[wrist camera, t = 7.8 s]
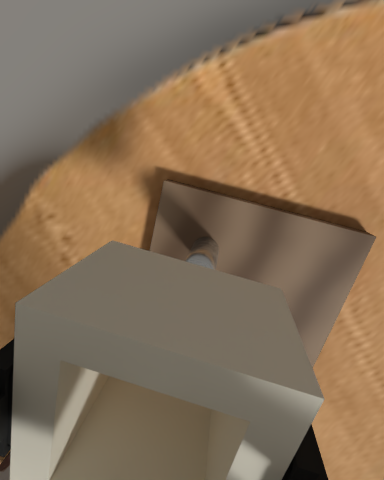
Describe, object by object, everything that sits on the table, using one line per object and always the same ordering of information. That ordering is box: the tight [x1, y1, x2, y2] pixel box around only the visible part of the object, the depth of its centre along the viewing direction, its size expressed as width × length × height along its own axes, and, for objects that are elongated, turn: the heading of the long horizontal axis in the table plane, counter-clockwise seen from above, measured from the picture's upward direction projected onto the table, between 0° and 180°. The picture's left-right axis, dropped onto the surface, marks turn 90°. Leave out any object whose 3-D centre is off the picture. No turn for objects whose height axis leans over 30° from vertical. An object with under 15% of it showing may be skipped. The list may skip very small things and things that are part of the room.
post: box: [185, 237, 219, 270], centre depth 21 cm, size 2×2×6 cm
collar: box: [10, 241, 324, 480], centre depth 9 cm, size 7×7×5 cm
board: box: [150, 180, 376, 368], centre depth 26 cm, size 18×20×2 cm
